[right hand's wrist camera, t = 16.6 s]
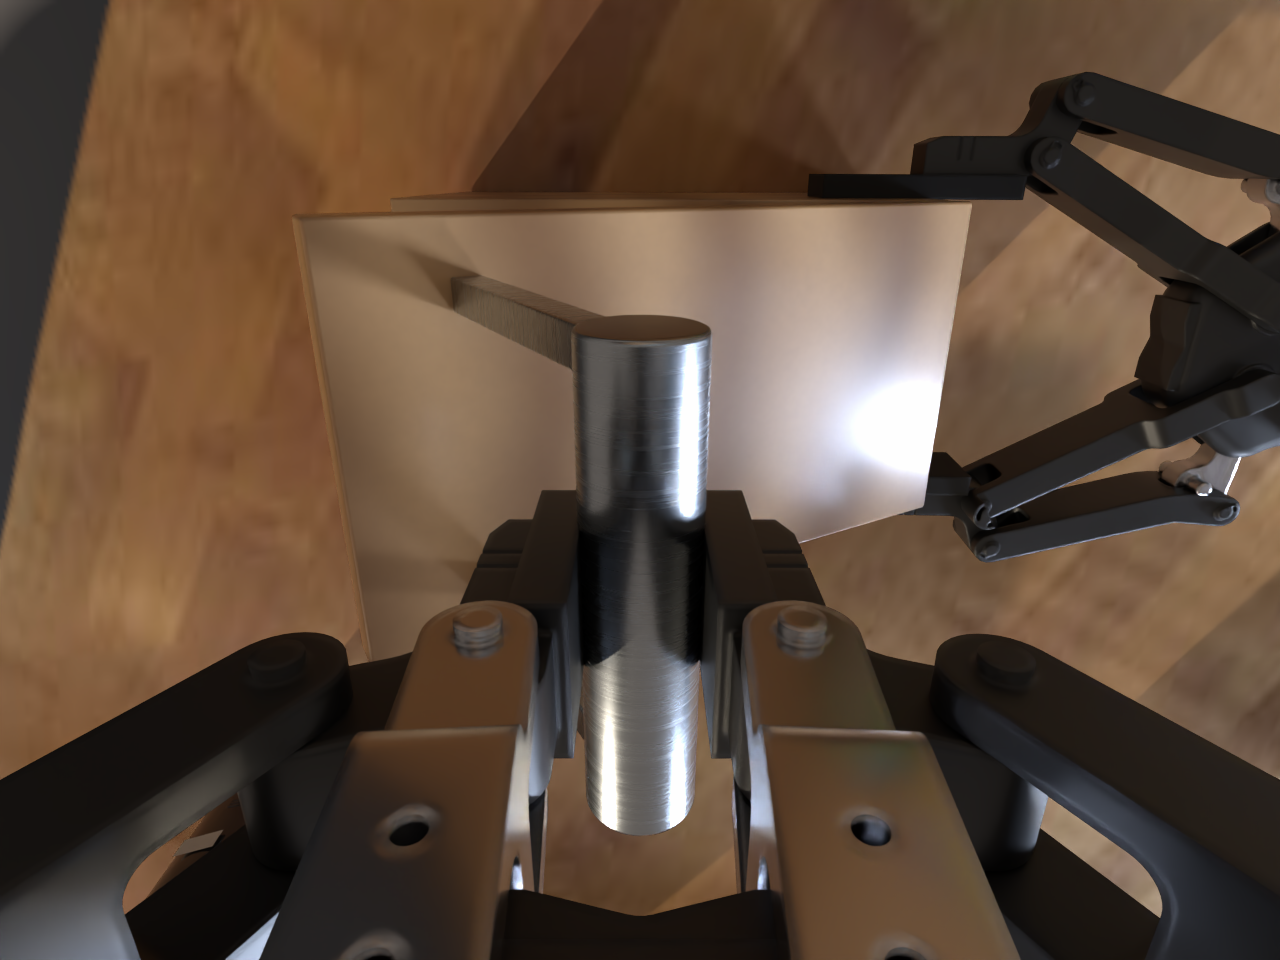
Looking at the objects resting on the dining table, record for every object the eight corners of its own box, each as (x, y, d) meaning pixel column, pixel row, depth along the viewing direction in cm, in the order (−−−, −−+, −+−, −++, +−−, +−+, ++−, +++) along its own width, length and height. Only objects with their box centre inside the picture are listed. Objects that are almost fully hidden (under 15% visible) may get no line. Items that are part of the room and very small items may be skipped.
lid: (361, 646, 18) (490, 972, 11) (289, 213, 14) (412, 256, 7) (898, 495, 26) (1175, 619, 19) (941, 200, 23) (1306, 213, 15)
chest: (484, 407, 36) (423, 487, 27) (467, 191, 32) (389, 198, 23) (843, 411, 36) (905, 494, 26) (867, 192, 32) (949, 200, 23)
